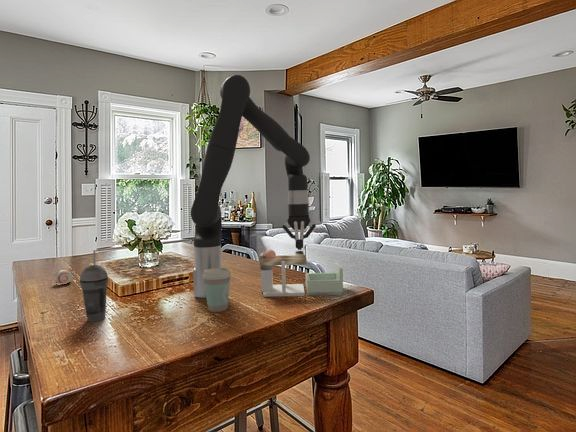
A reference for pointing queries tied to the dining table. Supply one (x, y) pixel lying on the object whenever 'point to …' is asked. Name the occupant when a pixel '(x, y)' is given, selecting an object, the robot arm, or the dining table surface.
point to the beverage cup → (94, 291)
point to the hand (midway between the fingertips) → (299, 249)
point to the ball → (270, 254)
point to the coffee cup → (217, 288)
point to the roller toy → (63, 276)
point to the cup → (325, 282)
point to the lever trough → (289, 260)
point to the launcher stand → (282, 289)
